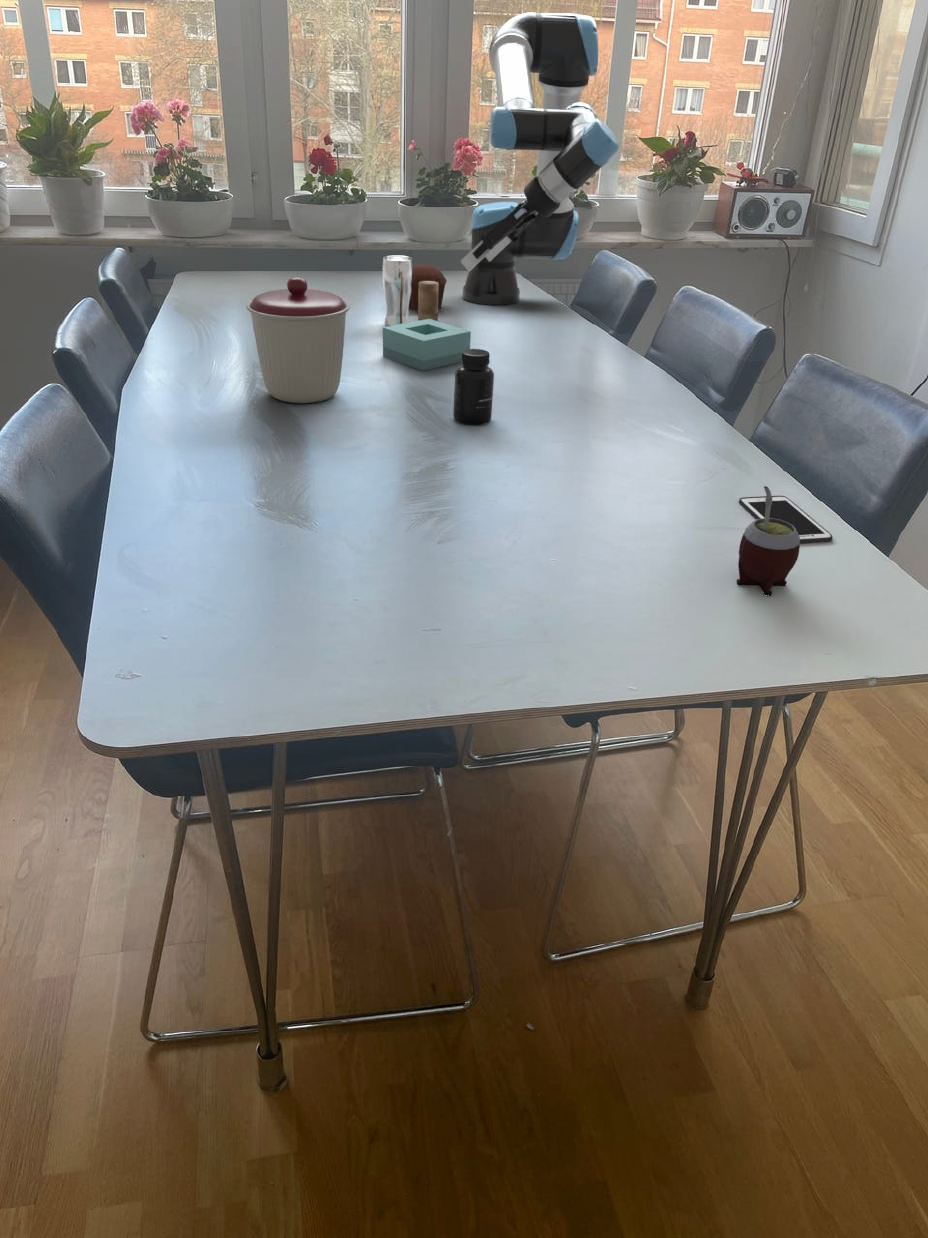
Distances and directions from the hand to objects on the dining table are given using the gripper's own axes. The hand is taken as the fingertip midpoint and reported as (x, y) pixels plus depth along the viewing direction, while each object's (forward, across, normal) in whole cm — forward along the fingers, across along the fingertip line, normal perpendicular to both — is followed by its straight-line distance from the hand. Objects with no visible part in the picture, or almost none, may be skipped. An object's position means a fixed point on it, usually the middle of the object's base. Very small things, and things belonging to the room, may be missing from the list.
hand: (475, 261), depth 201 cm
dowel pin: (+20, +1, -5) cm, 21 cm away
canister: (+25, -48, -1) cm, 54 cm away
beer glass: (+28, +8, +3) cm, 29 cm away
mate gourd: (-36, -90, -63) cm, 115 cm away
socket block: (+16, -14, -9) cm, 24 cm away
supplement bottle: (+2, -47, -25) cm, 53 cm away
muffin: (+28, +28, +4) cm, 40 cm away
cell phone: (-37, -68, -64) cm, 100 cm away
